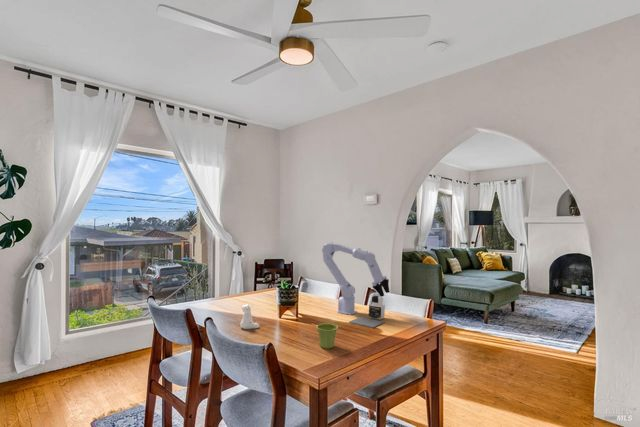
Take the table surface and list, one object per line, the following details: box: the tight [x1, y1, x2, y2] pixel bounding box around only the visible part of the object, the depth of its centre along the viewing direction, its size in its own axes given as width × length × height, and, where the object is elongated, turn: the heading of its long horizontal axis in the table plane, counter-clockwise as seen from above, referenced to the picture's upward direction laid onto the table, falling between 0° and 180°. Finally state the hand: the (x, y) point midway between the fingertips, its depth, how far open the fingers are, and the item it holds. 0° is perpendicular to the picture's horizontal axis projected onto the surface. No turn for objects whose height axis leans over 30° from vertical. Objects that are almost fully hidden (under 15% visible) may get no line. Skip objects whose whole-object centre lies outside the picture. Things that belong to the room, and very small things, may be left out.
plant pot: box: [316, 323, 339, 349], centre depth 153 cm, size 9×9×9 cm
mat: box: [348, 316, 385, 329], centre depth 188 cm, size 15×12×1 cm
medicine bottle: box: [368, 295, 386, 321], centre depth 197 cm, size 7×7×12 cm
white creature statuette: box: [239, 303, 260, 330], centre depth 180 cm, size 10×9×12 cm
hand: (385, 294), depth 201 cm, fingers open, 6 cm apart
